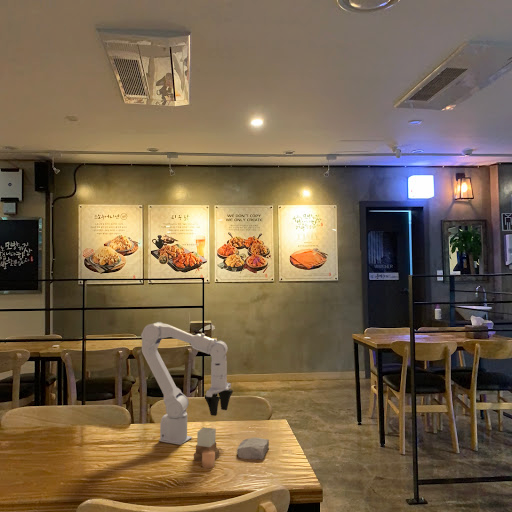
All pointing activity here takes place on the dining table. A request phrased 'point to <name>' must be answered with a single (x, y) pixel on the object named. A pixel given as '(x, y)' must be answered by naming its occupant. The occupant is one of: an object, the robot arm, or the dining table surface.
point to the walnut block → (205, 448)
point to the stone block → (253, 448)
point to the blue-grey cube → (206, 437)
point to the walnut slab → (199, 456)
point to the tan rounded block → (208, 459)
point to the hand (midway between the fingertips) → (219, 412)
